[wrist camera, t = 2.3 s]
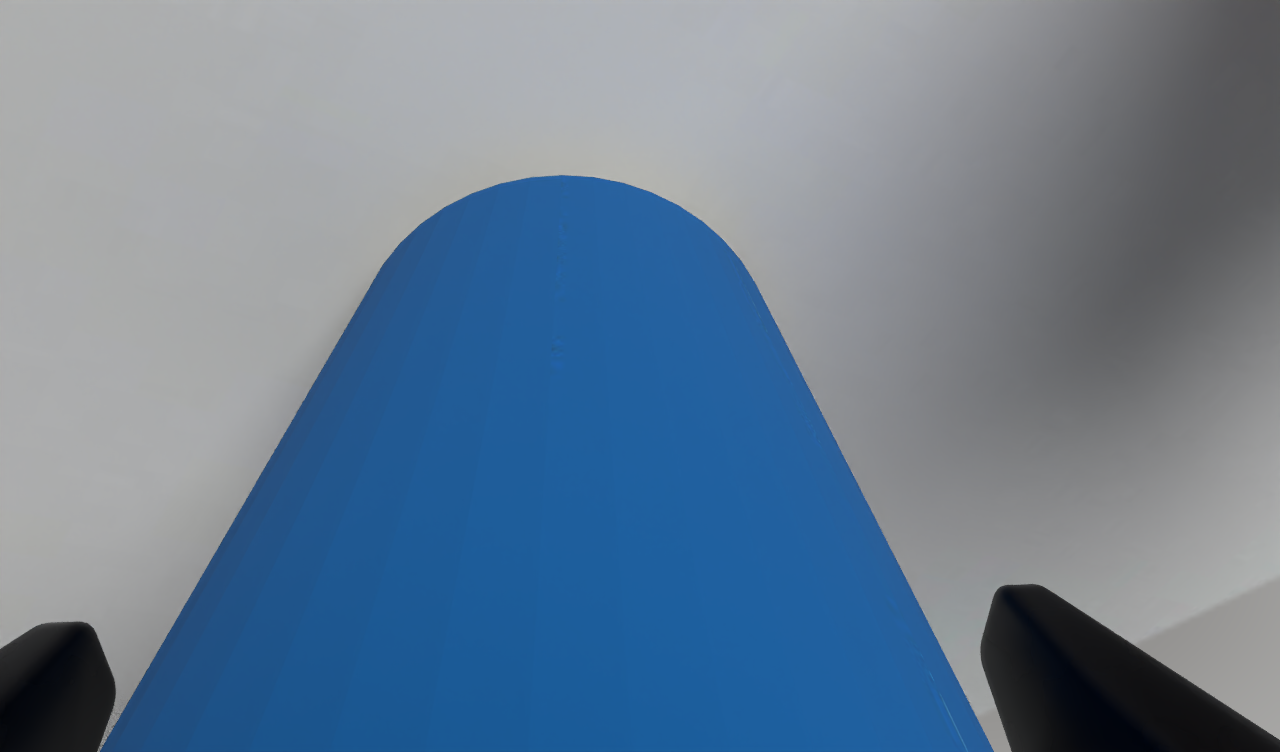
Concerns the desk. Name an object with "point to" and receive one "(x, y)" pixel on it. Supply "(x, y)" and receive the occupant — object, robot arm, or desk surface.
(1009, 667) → the robot arm
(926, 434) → the desk surface
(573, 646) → the beverage can
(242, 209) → the desk surface
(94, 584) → the desk surface
